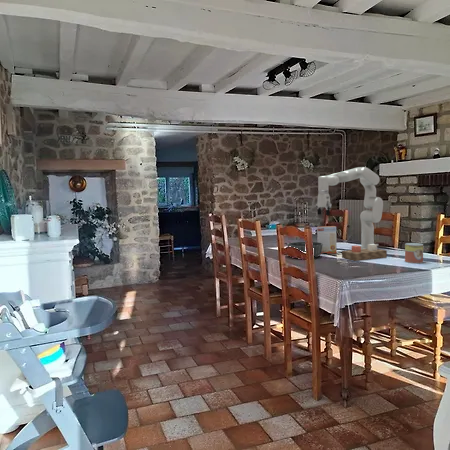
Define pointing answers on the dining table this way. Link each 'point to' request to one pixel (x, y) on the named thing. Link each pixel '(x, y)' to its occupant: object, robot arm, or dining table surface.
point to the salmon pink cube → (356, 248)
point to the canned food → (414, 253)
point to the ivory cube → (372, 247)
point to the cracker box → (327, 238)
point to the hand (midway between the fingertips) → (323, 214)
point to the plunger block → (364, 254)
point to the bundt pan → (301, 246)
